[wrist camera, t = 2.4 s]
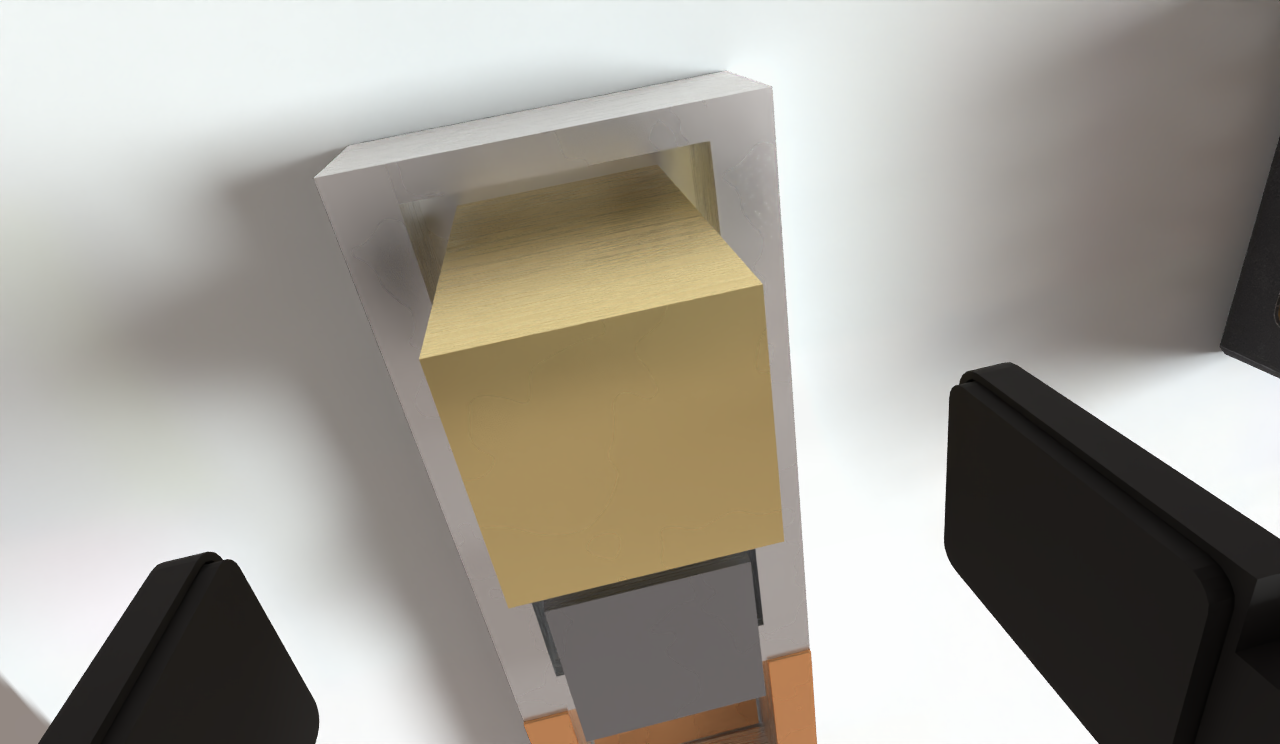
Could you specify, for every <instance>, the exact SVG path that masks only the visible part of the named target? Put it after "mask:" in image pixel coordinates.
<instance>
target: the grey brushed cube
mask: <svg viewBox="0 0 1280 744" xmlns="http://www.w3.org/2000/svg"><path fill="white" fill-rule="evenodd" d="M544 613H545V616H546V619H547V622H548V625H549V628H550V631H551V634H552V637H553V640H554V643H555V646H556V650H557V653H558V656H559V659H560V662H561V665H562V668H563V671H564V674H565V677H566V680H567V683H568V686H569V690H570V693H571V696H572V699H573V702H574V705H575V708H576V711H577V714H578V717H579V720H580V723H581V726H582V730H583V733H584V736H585V739H586V742H588V741H592V740H596V739H600V738H604V737H608V736H612V735H616V734H619V733H623V732H627V731H631V730H635V729H639V728H643V727H647V726H651V725H654V724H658V723H662V722H666V721H670V720H674V719H678V718H682V717H686V716H689V715H693V714H697V713H701V712H705V711H709V710H713V709H717V708H721V707H724V706H728V705H732V704H736V703H740V702H744V701H748V700H752V699H756V698H759V697H763V696H766V689H765V681H764V672H763V663H762V655H761V646H760V638H759V629H758V620H757V612H756V603H755V595H754V586H753V577H752V569H751V561H750V559H749V557H748V554H747V552H746V551H743V552H739V553H735V554H731V555H727V556H723V557H719V558H714V559H710V560H706V561H702V562H698V563H694V564H690V565H686V566H681V567H677V568H673V569H669V570H665V571H661V572H657V573H653V574H649V575H644V576H640V577H636V578H632V579H628V580H624V581H620V582H616V583H612V584H607V585H603V586H599V587H595V588H591V589H587V590H583V591H579V592H574V593H570V594H566V595H562V596H558V597H554V598H550V599H546V600H544Z"/></svg>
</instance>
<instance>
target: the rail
mask: <svg viewBox="0 0 1280 744" xmlns="http://www.w3.org/2000/svg"><path fill="white" fill-rule="evenodd" d="M653 165H658V166H659V167H660V168H661V169H662V170H663V171H664V172H665V174H666V175H667V176H668V177H669V178H670V179H671V180H672V181H673V183H674V184H675V185H676V186H677V187H678V188H679V189H680V191H681V192H682V193H683V194H684V195H685V196H686V197H687V199H688V200H689V201H690V202H691V203H692V204H693V205H694V206H695V208H696V209H697V210H698V211H699V212H700V213H701V214H702V216H703V217H704V218H705V219H706V220H707V221H708V222H709V223H710V225H711V226H712V227H713V228H714V229H715V230H716V231H717V233H718V234H719V235H720V236H721V237H722V238H723V239H724V241H725V242H726V243H727V244H728V245H729V246H730V247H731V248H732V250H733V251H734V252H735V253H736V254H737V255H738V256H739V258H740V259H741V260H742V261H743V262H744V263H745V264H746V265H747V267H748V268H749V269H750V270H751V271H752V272H753V273H754V275H755V276H756V277H757V278H758V279H759V280H760V281H761V283H762V284H763V291H764V303H765V315H766V327H767V339H768V351H769V363H770V375H771V387H772V399H773V411H774V423H775V435H776V447H777V459H778V471H779V483H780V495H781V507H782V519H783V531H784V542H780V543H776V544H772V545H768V546H764V547H760V548H756V549H751V550H747V551H746V552H747V554H748V557H749V559H750V561H751V569H752V577H753V586H754V595H755V603H756V612H757V620H758V629H759V638H760V646H761V655H762V663H763V672H764V681H765V689H766V696H763V697H759V698H756V699H752V700H748V701H744V702H740V703H736V704H732V705H728V706H724V707H721V708H717V709H713V710H709V711H705V712H701V713H697V714H693V715H689V716H686V717H682V718H678V719H674V720H670V721H666V722H662V723H658V724H654V725H651V726H647V727H643V728H639V729H635V730H631V731H627V732H623V733H619V734H616V735H612V736H608V737H604V738H600V739H596V740H592V741H588V742H586V739H585V736H584V733H583V730H582V726H581V723H580V720H579V717H578V714H577V711H576V708H575V705H574V702H573V699H572V696H571V693H570V690H569V686H568V683H567V680H566V677H565V674H564V671H563V668H562V665H561V662H560V659H559V656H558V653H557V650H556V646H555V643H554V640H553V637H552V634H551V631H550V628H549V625H548V622H547V619H546V616H545V613H544V600H542V601H537V602H533V603H529V604H525V605H521V606H517V607H513V608H509V609H508V606H507V603H506V600H505V597H504V595H503V592H502V589H501V586H500V583H499V581H498V578H497V575H496V572H495V570H494V567H493V564H492V561H491V558H490V556H489V553H488V550H487V547H486V544H485V542H484V539H483V536H482V533H481V531H480V528H479V525H478V522H477V519H476V517H475V514H474V511H473V508H472V505H471V503H470V500H469V497H468V494H467V492H466V489H465V486H464V483H463V480H462V478H461V475H460V472H459V469H458V466H457V464H456V461H455V458H454V455H453V453H452V450H451V447H450V444H449V441H448V439H447V436H446V433H445V430H444V428H443V425H442V422H441V419H440V416H439V414H438V411H437V408H436V405H435V402H434V400H433V397H432V394H431V391H430V389H429V386H428V383H427V380H426V377H425V375H424V372H423V369H422V366H421V363H420V361H419V357H420V353H421V349H422V345H423V341H424V337H425V333H426V329H427V325H428V321H429V317H430V313H431V309H432V305H433V301H434V297H435V293H436V289H437V285H438V281H439V277H440V272H441V268H442V264H443V260H444V256H445V252H446V248H447V244H448V240H449V236H450V232H451V228H452V224H453V220H454V216H455V212H456V208H457V206H458V205H463V204H468V203H473V202H478V201H482V200H487V199H492V198H497V197H502V196H507V195H512V194H517V193H521V192H526V191H531V190H536V189H541V188H546V187H551V186H556V185H560V184H565V183H570V182H575V181H580V180H585V179H590V178H595V177H599V176H604V175H609V174H614V173H619V172H624V171H629V170H634V169H638V168H643V167H648V166H653ZM313 179H314V181H315V184H316V186H317V189H318V191H319V194H320V197H321V199H322V202H323V204H324V207H325V210H326V212H327V215H328V217H329V220H330V222H331V225H332V228H333V230H334V233H335V235H336V238H337V241H338V243H339V246H340V248H341V251H342V253H343V256H344V259H345V261H346V264H347V266H348V269H349V272H350V274H351V277H352V279H353V282H354V284H355V287H356V290H357V292H358V295H359V297H360V300H361V303H362V305H363V308H364V310H365V313H366V315H367V318H368V321H369V323H370V326H371V328H372V331H373V334H374V336H375V339H376V341H377V344H378V346H379V349H380V352H381V354H382V357H383V359H384V362H385V365H386V367H387V370H388V372H389V375H390V377H391V380H392V383H393V385H394V388H395V390H396V393H397V396H398V398H399V401H400V403H401V406H402V408H403V411H404V414H405V416H406V419H407V421H408V424H409V427H410V429H411V432H412V434H413V437H414V439H415V442H416V445H417V447H418V450H419V452H420V455H421V458H422V460H423V463H424V465H425V468H426V470H427V473H428V476H429V478H430V481H431V483H432V486H433V489H434V491H435V494H436V496H437V499H438V501H439V504H440V507H441V509H442V512H443V514H444V517H445V520H446V522H447V525H448V527H449V530H450V532H451V535H452V538H453V540H454V543H455V545H456V548H457V551H458V553H459V556H460V558H461V561H462V563H463V566H464V569H465V571H466V574H467V576H468V579H469V582H470V584H471V587H472V589H473V592H474V594H475V597H476V600H477V602H478V605H479V607H480V610H481V613H482V615H483V618H484V620H485V623H486V625H487V628H488V631H489V633H490V636H491V638H492V641H493V644H494V646H495V649H496V651H497V654H498V656H499V659H500V662H501V664H502V667H503V669H504V672H505V675H506V677H507V680H508V682H509V685H510V687H511V690H512V693H513V695H514V698H515V700H516V703H517V706H518V708H519V711H520V713H521V716H522V718H523V721H524V727H525V729H526V732H527V735H528V737H529V740H530V742H531V744H817V737H816V722H815V707H814V691H813V676H812V661H811V651H810V648H809V633H808V618H807V603H806V588H805V573H804V557H803V542H802V527H801V512H800V497H799V482H798V467H797V452H796V437H795V422H794V407H793V392H792V377H791V362H790V347H789V332H788V317H787V302H786V287H785V272H784V257H783V242H782V227H781V212H780V197H779V182H778V167H777V151H776V136H775V121H774V106H773V91H772V86H769V85H766V84H764V83H761V82H758V81H755V80H752V79H749V78H746V77H743V76H740V75H737V74H734V73H732V72H729V71H722V72H717V73H712V74H707V75H702V76H697V77H692V78H687V79H682V80H677V81H672V82H667V83H662V84H657V85H652V86H646V87H641V88H636V89H631V90H626V91H621V92H616V93H611V94H606V95H601V96H596V97H591V98H586V99H581V100H576V101H571V102H566V103H560V104H555V105H550V106H545V107H540V108H535V109H530V110H525V111H520V112H515V113H510V114H505V115H500V116H495V117H490V118H485V119H479V120H474V121H469V122H464V123H459V124H454V125H449V126H444V127H439V128H434V129H429V130H424V131H419V132H414V133H409V134H404V135H399V136H393V137H388V138H383V139H378V140H373V141H368V142H363V143H358V144H353V145H348V146H347V147H346V148H345V149H344V150H343V151H342V152H341V153H340V154H339V155H338V156H337V157H336V158H335V159H333V160H332V161H331V162H330V163H329V164H328V165H327V166H326V167H325V168H324V169H323V170H322V171H321V172H320V173H318V174H317V175H316V176H315V177H314V178H313Z"/></svg>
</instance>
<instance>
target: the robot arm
mask: <svg viewBox="0 0 1280 744" xmlns="http://www.w3.org/2000/svg"><path fill="white" fill-rule="evenodd" d="M944 546H945V550H946V553H947V556H948V559H949V561H950V563H951V565H952V566H953V568H954V569H955V570H956V572H957V573H958V574H959V575H960V576H961V578H962V579H963V580H964V581H965V582H966V584H967V585H968V586H969V587H970V588H971V590H972V591H973V592H974V593H975V595H976V596H977V597H978V598H979V599H980V601H981V602H982V603H983V604H984V605H985V607H986V608H987V609H988V610H989V611H990V613H991V614H992V615H993V616H994V618H995V619H996V620H997V621H998V622H999V624H1000V625H1001V626H1002V627H1003V628H1004V630H1005V631H1006V632H1007V633H1008V634H1009V636H1010V637H1011V638H1012V639H1013V641H1014V642H1015V643H1016V644H1017V645H1018V647H1019V648H1020V649H1021V650H1022V651H1023V653H1024V654H1025V655H1026V656H1027V657H1028V659H1029V660H1030V661H1031V662H1032V664H1033V665H1034V666H1035V667H1036V668H1037V670H1038V671H1039V672H1040V673H1041V674H1042V676H1043V677H1044V678H1045V679H1046V680H1047V682H1048V683H1049V684H1050V685H1051V687H1052V688H1053V689H1054V690H1055V691H1056V693H1057V694H1058V695H1059V696H1060V697H1061V699H1062V700H1063V701H1064V702H1065V703H1066V705H1067V706H1068V707H1069V708H1070V710H1071V711H1072V712H1073V713H1074V714H1075V716H1076V717H1077V718H1078V719H1079V720H1080V722H1081V723H1082V724H1083V725H1084V726H1085V728H1086V729H1087V730H1088V731H1089V733H1090V734H1091V735H1092V736H1093V737H1094V739H1095V740H1096V741H1097V742H1098V743H1099V744H1280V539H1279V538H1278V537H1276V536H1275V535H1273V534H1272V533H1270V532H1269V531H1267V530H1266V529H1264V528H1263V527H1261V526H1260V525H1258V524H1257V523H1255V522H1254V521H1252V520H1250V519H1249V518H1247V517H1246V516H1244V515H1243V514H1241V513H1240V512H1238V511H1237V510H1235V509H1234V508H1232V507H1231V506H1229V505H1228V504H1226V503H1225V502H1223V501H1222V500H1220V499H1219V498H1217V497H1216V496H1214V495H1213V494H1211V493H1210V492H1208V491H1207V490H1205V489H1204V488H1202V487H1201V486H1199V485H1198V484H1196V483H1195V482H1193V481H1191V480H1190V479H1188V478H1187V477H1185V476H1184V475H1182V474H1181V473H1179V472H1178V471H1176V470H1175V469H1173V468H1172V467H1170V466H1169V465H1167V464H1166V463H1164V462H1163V461H1161V460H1160V459H1158V458H1157V457H1155V456H1154V455H1152V454H1151V453H1149V452H1148V451H1146V450H1145V449H1143V448H1142V447H1140V446H1139V445H1137V444H1136V443H1134V442H1132V441H1131V440H1129V439H1128V438H1126V437H1125V436H1123V435H1122V434H1120V433H1119V432H1117V431H1116V430H1114V429H1113V428H1111V427H1110V426H1108V425H1107V424H1105V423H1104V422H1102V421H1101V420H1099V419H1098V418H1096V417H1095V416H1093V415H1092V414H1090V413H1089V412H1087V411H1086V410H1084V409H1083V408H1081V407H1080V406H1078V405H1077V404H1075V403H1073V402H1072V401H1070V400H1069V399H1067V398H1066V397H1064V396H1063V395H1061V394H1060V393H1058V392H1057V391H1055V390H1054V389H1052V388H1051V387H1049V386H1048V385H1046V384H1045V383H1043V382H1042V381H1040V380H1039V379H1037V378H1036V377H1034V376H1033V375H1031V374H1030V373H1028V372H1027V371H1025V370H1024V369H1022V368H1021V367H1019V366H1018V365H1015V364H1013V363H1011V362H1008V363H1001V364H997V365H993V366H989V367H984V368H980V369H976V370H972V371H967V372H966V373H964V374H963V375H962V377H961V379H960V383H959V385H956V386H954V387H953V388H952V389H951V391H950V397H949V420H948V447H947V474H946V501H945V528H944ZM318 730H319V713H318V708H317V705H316V703H315V700H314V698H313V697H312V695H311V693H310V691H309V690H308V688H307V686H306V684H305V683H304V681H303V679H302V677H301V675H300V674H299V672H298V670H297V668H296V667H295V665H294V663H293V661H292V659H291V658H290V656H289V654H288V652H287V651H286V649H285V647H284V645H283V643H282V642H281V640H280V638H279V636H278V635H277V633H276V631H275V629H274V628H273V626H272V624H271V622H270V620H269V619H268V617H267V615H266V613H265V612H264V610H263V608H262V606H261V604H260V603H259V601H258V599H257V597H256V596H255V594H254V592H253V590H252V589H251V587H250V585H249V583H248V581H247V580H246V578H245V576H244V574H243V573H242V571H241V569H240V567H239V566H238V565H237V563H236V562H234V561H233V560H229V559H226V560H223V559H222V558H221V557H220V556H219V555H217V554H216V553H214V552H205V553H201V554H196V555H192V556H188V557H184V558H180V559H175V560H171V561H167V562H163V563H161V564H158V565H157V566H156V567H155V568H154V569H153V570H152V571H151V573H150V574H149V576H148V577H147V579H146V580H145V582H144V583H143V585H142V586H141V588H140V589H139V591H138V592H137V594H136V595H135V597H134V598H133V600H132V602H131V603H130V605H129V606H128V608H127V609H126V611H125V612H124V614H123V615H122V617H121V618H120V620H119V621H118V623H117V624H116V626H115V627H114V629H113V630H112V632H111V633H110V635H109V637H108V638H107V640H106V641H105V643H104V644H103V646H102V647H101V649H100V650H99V652H98V653H97V655H96V656H95V658H94V659H93V661H92V662H91V664H90V665H89V667H88V668H87V670H86V672H85V673H84V675H83V676H82V678H81V679H80V681H79V682H78V684H77V685H76V687H75V688H74V690H73V691H72V693H71V694H70V696H69V697H68V699H67V700H66V702H65V703H64V705H63V707H62V708H61V710H60V711H59V713H58V714H57V716H56V717H55V719H54V720H53V722H52V723H51V725H50V726H49V728H48V729H47V731H46V733H45V734H44V735H43V737H42V738H41V740H40V742H39V743H38V744H315V743H316V739H317V735H318Z"/></svg>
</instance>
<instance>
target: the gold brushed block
mask: <svg viewBox="0 0 1280 744" xmlns="http://www.w3.org/2000/svg"><path fill="white" fill-rule="evenodd" d="M419 361H420V363H421V366H422V369H423V372H424V375H425V377H426V380H427V383H428V386H429V389H430V391H431V394H432V397H433V400H434V402H435V405H436V408H437V411H438V414H439V416H440V419H441V422H442V425H443V428H444V430H445V433H446V436H447V439H448V441H449V444H450V447H451V450H452V453H453V455H454V458H455V461H456V464H457V466H458V469H459V472H460V475H461V478H462V480H463V483H464V486H465V489H466V492H467V494H468V497H469V500H470V503H471V505H472V508H473V511H474V514H475V517H476V519H477V522H478V525H479V528H480V531H481V533H482V536H483V539H484V542H485V544H486V547H487V550H488V553H489V556H490V558H491V561H492V564H493V567H494V570H495V572H496V575H497V578H498V581H499V583H500V586H501V589H502V592H503V595H504V597H505V600H506V603H507V606H508V609H509V608H513V607H517V606H521V605H525V604H529V603H533V602H537V601H542V600H546V599H550V598H554V597H558V596H562V595H566V594H570V593H574V592H579V591H583V590H587V589H591V588H595V587H599V586H603V585H607V584H612V583H616V582H620V581H624V580H628V579H632V578H636V577H640V576H644V575H649V574H653V573H657V572H661V571H665V570H669V569H673V568H677V567H681V566H686V565H690V564H694V563H698V562H702V561H706V560H710V559H714V558H719V557H723V556H727V555H731V554H735V553H739V552H743V551H747V550H751V549H756V548H760V547H764V546H768V545H772V544H776V543H780V542H784V531H783V519H782V507H781V495H780V483H779V471H778V459H777V447H776V435H775V423H774V411H773V399H772V387H771V375H770V363H769V351H768V339H767V327H766V315H765V303H764V291H763V284H762V283H761V281H760V280H759V279H758V278H757V277H756V276H755V275H754V273H753V272H752V271H751V270H750V269H749V268H748V267H747V265H746V264H745V263H744V262H743V261H742V260H741V259H740V258H739V256H738V255H737V254H736V253H735V252H734V251H733V250H732V248H731V247H730V246H729V245H728V244H727V243H726V242H725V241H724V239H723V238H722V237H721V236H720V235H719V234H718V233H717V231H716V230H715V229H714V228H713V227H712V226H711V225H710V223H709V222H708V221H707V220H706V219H705V218H704V217H703V216H702V214H701V213H700V212H699V211H698V210H697V209H696V208H695V206H694V205H693V204H692V203H691V202H690V201H689V200H688V199H687V197H686V196H685V195H684V194H683V193H682V192H681V191H680V189H679V188H678V187H677V186H676V185H675V184H674V183H673V181H672V180H671V179H670V178H669V177H668V176H667V175H666V174H665V172H664V171H663V170H662V169H661V168H660V167H659V166H658V165H653V166H648V167H643V168H638V169H634V170H629V171H624V172H619V173H614V174H609V175H604V176H599V177H595V178H590V179H585V180H580V181H575V182H570V183H565V184H560V185H556V186H551V187H546V188H541V189H536V190H531V191H526V192H521V193H517V194H512V195H507V196H502V197H497V198H492V199H487V200H482V201H478V202H473V203H468V204H463V205H458V206H457V208H456V212H455V216H454V220H453V224H452V228H451V232H450V236H449V240H448V244H447V248H446V252H445V256H444V260H443V264H442V268H441V272H440V277H439V281H438V285H437V289H436V293H435V297H434V301H433V305H432V309H431V313H430V317H429V321H428V325H427V329H426V333H425V337H424V341H423V345H422V349H421V353H420V357H419Z"/></svg>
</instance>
